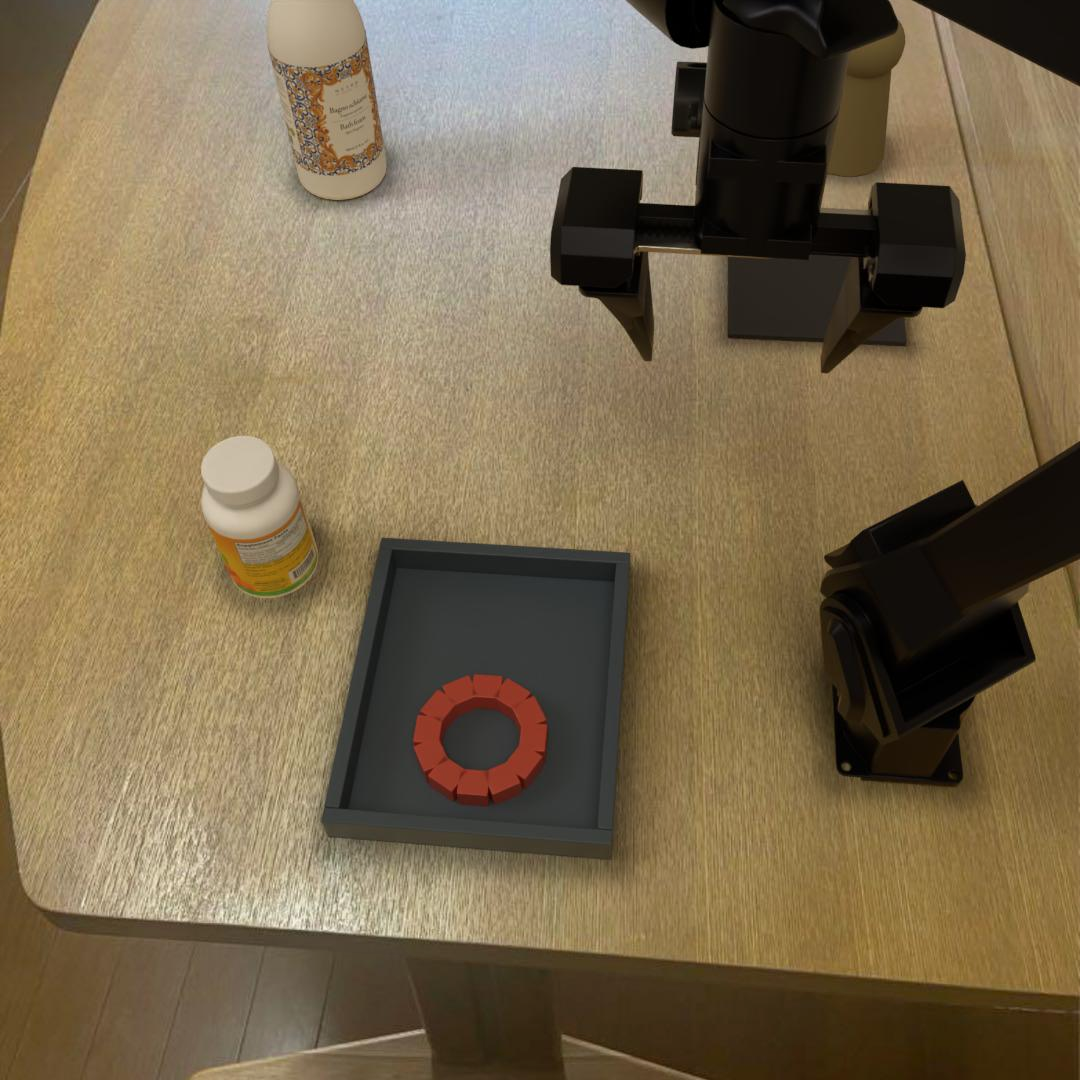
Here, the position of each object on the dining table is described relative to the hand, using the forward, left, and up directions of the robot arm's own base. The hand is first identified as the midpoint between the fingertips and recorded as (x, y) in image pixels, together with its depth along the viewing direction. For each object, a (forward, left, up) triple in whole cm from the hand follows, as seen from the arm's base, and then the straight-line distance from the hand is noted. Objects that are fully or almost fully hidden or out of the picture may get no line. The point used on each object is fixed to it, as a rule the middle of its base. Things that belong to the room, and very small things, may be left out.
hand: (735, 361), depth 63 cm
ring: (-17, +12, -12) cm, 25 cm away
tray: (-14, +12, -13) cm, 23 cm away
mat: (+21, -7, -13) cm, 25 cm away
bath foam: (+31, +29, -13) cm, 44 cm away
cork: (+36, -10, -13) cm, 39 cm away
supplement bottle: (-6, +26, -13) cm, 30 cm away
